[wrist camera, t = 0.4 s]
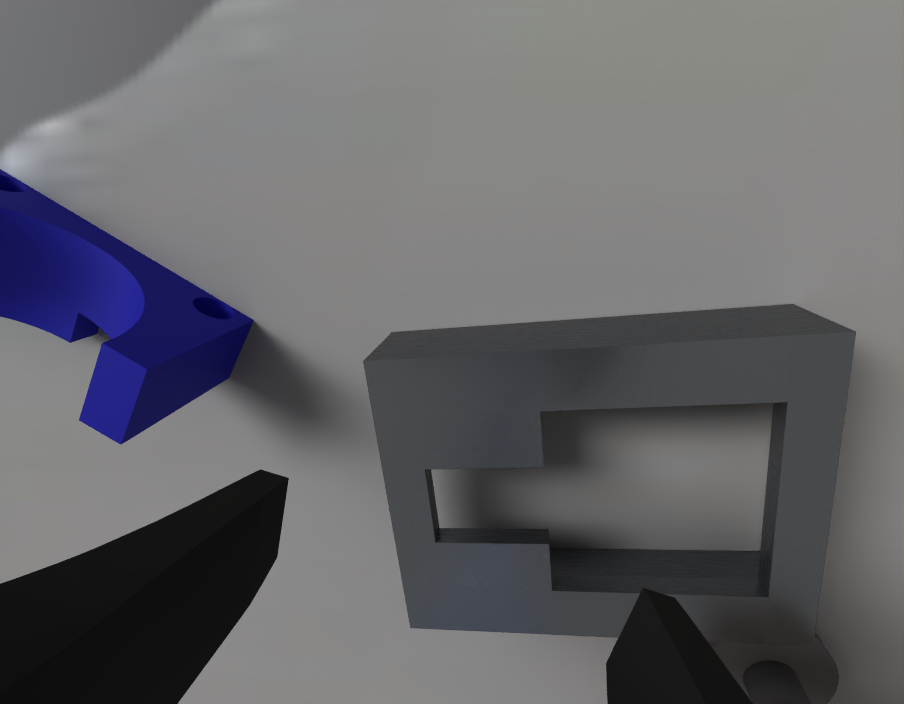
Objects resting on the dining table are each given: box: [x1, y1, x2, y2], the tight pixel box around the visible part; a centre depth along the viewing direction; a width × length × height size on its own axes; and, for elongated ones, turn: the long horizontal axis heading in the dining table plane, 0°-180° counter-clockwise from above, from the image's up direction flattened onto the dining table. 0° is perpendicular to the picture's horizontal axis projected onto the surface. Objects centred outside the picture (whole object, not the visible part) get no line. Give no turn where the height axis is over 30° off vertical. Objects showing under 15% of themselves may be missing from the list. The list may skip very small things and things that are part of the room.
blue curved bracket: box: [0, 169, 253, 444], centre depth 18 cm, size 12×4×6 cm, turn 60°
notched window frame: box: [363, 304, 856, 646], centre depth 18 cm, size 11×14×3 cm
